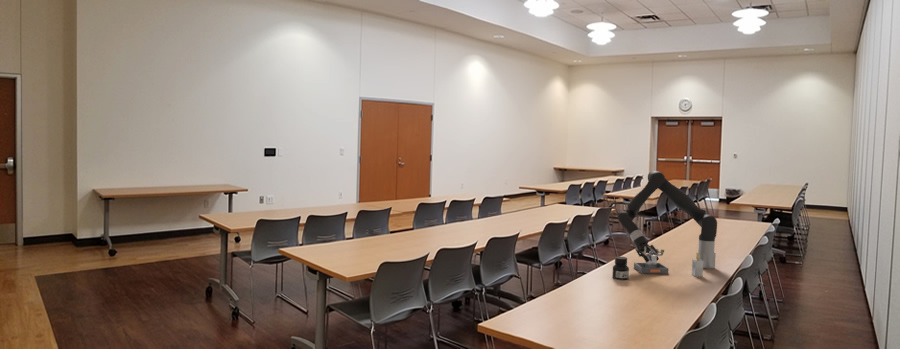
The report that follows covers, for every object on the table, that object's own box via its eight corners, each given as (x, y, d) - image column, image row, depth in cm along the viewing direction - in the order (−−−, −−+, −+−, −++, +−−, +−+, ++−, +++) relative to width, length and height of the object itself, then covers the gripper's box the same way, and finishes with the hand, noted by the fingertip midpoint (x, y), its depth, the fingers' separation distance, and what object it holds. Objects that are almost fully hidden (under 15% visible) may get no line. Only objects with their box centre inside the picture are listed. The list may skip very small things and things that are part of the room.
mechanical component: (664, 265, 361) (664, 249, 361) (647, 265, 362) (648, 249, 361) (662, 264, 364) (663, 248, 364) (646, 264, 365) (647, 248, 364)
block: (650, 269, 349) (650, 253, 348) (656, 270, 345) (656, 255, 345) (645, 269, 347) (645, 254, 346) (651, 271, 343) (651, 255, 342)
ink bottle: (617, 280, 322) (617, 259, 321) (608, 276, 331) (609, 256, 330) (632, 279, 325) (632, 259, 324) (623, 275, 333) (624, 255, 333)
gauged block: (699, 274, 338) (700, 252, 337) (702, 276, 334) (703, 254, 333) (691, 274, 338) (692, 252, 337) (694, 276, 334) (696, 254, 333)
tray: (659, 268, 353) (659, 262, 353) (668, 274, 339) (668, 268, 338) (633, 268, 353) (634, 262, 353) (641, 273, 339) (641, 268, 338)
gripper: (634, 236, 347) (648, 258, 338) (650, 234, 354) (664, 256, 345) (627, 243, 352) (641, 265, 343) (643, 241, 359) (657, 262, 350)
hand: (652, 260), depth 344 cm, fingers open, 8 cm apart
